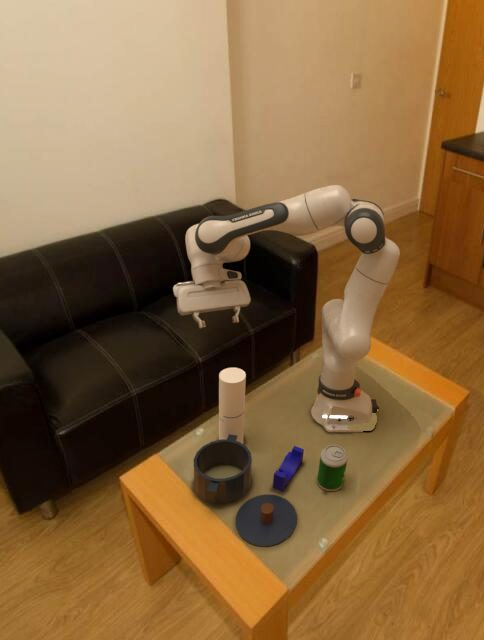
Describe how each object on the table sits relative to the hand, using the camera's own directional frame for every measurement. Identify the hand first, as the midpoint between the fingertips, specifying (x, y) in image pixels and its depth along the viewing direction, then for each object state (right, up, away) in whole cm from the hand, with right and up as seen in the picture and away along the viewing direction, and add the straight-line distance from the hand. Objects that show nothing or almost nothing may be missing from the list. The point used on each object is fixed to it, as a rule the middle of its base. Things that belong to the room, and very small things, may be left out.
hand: (219, 325), depth 140 cm
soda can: (+31, -45, +1) cm, 55 cm away
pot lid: (+16, -50, -14) cm, 54 cm away
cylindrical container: (+1, -35, +9) cm, 36 cm away
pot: (+2, -43, -5) cm, 44 cm away
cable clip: (+19, -43, +1) cm, 47 cm away
